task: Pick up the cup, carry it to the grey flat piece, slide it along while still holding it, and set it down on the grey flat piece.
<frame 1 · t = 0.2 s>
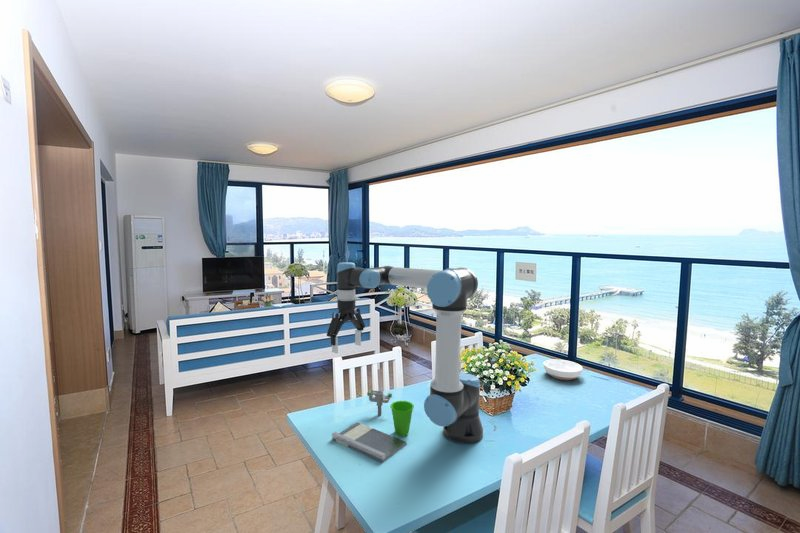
hand: (346, 348, 166), 28 cm above the table, fingers open, 13 cm apart
cup: (401, 433, 150), on the table
mechanical component: (379, 415, 165), on the table
bowl: (562, 376, 210), on the table
grey flat piece: (368, 442, 144), on the table
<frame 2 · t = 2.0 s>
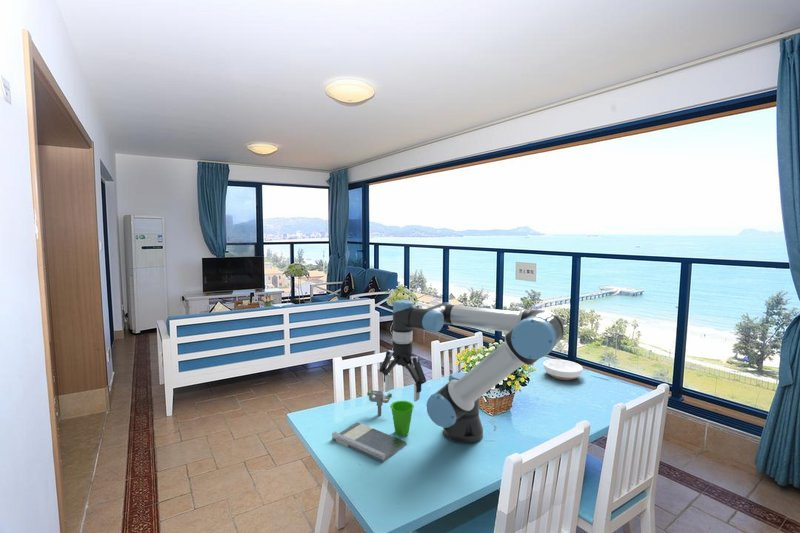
hand: (401, 395, 149), 15 cm above the table, fingers open, 13 cm apart
nothing on the table moved.
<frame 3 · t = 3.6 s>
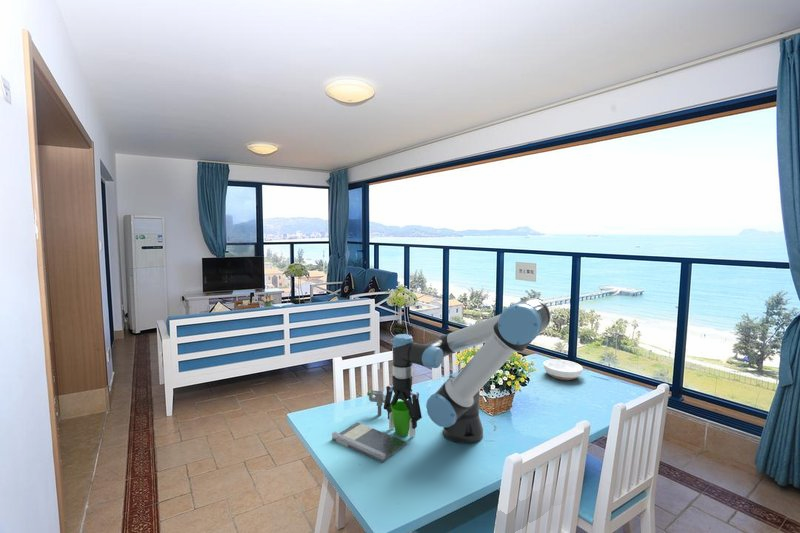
hand: (401, 431, 150), 0 cm above the table, fingers closed on cup, 9 cm apart
cup: (401, 433, 150), on the table, touching gripper
everything else where it was.
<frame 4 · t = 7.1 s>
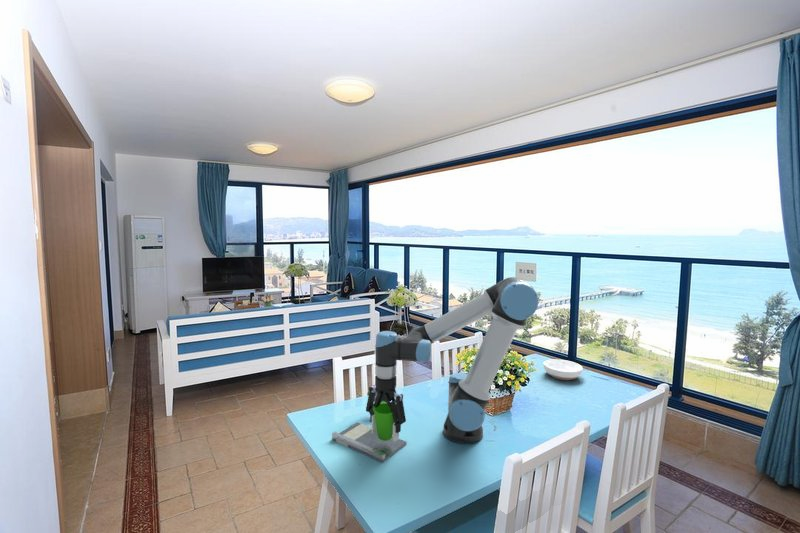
hand: (385, 435, 140), 4 cm above the table, fingers closed on cup, 9 cm apart
cup: (385, 437, 140), point 4 cm above the table, touching gripper
everything else where it was.
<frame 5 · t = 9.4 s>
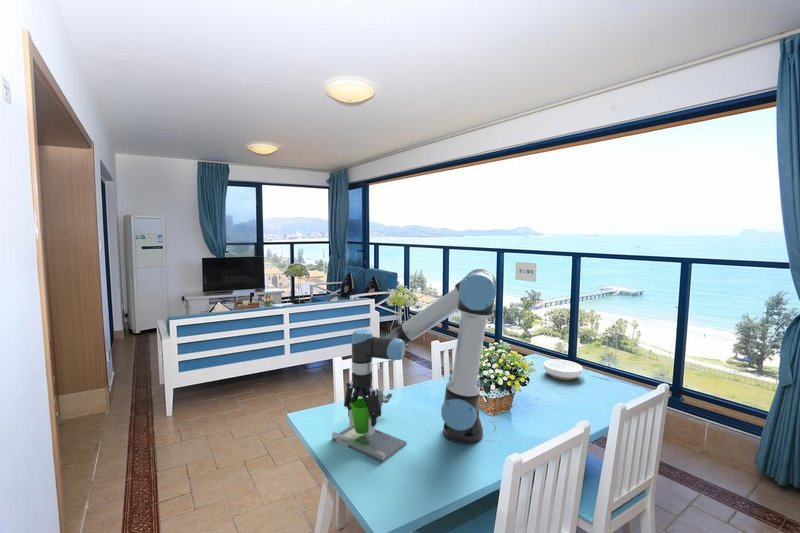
hand: (361, 429, 147), 3 cm above the table, fingers closed on cup, 9 cm apart
cup: (362, 431, 147), point 2 cm above the table, touching gripper
everything else where it was.
when the fingers open (2 cm above the table, at t = 10.9 s): cup stays where it is, resting on grey flat piece.
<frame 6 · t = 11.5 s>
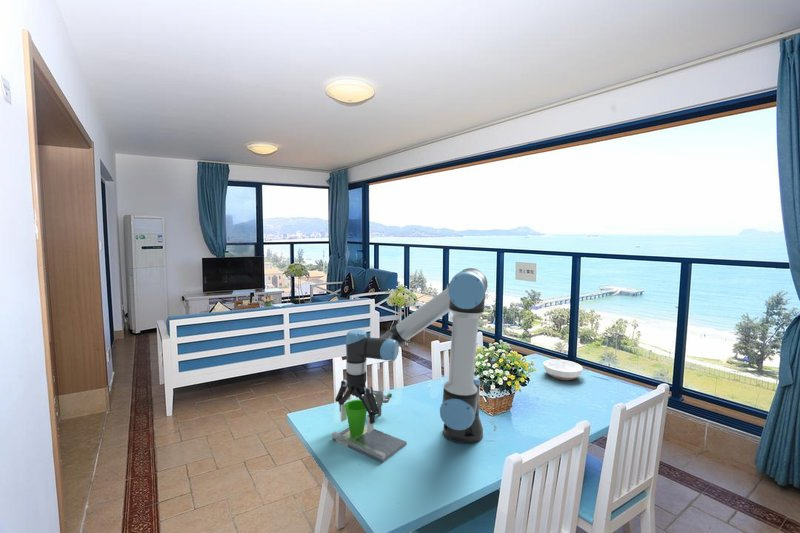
hand: (356, 425, 148), 4 cm above the table, fingers open, 13 cm apart
cup: (356, 433, 149), point 1 cm above the table, touching grey flat piece
everything else where it was.
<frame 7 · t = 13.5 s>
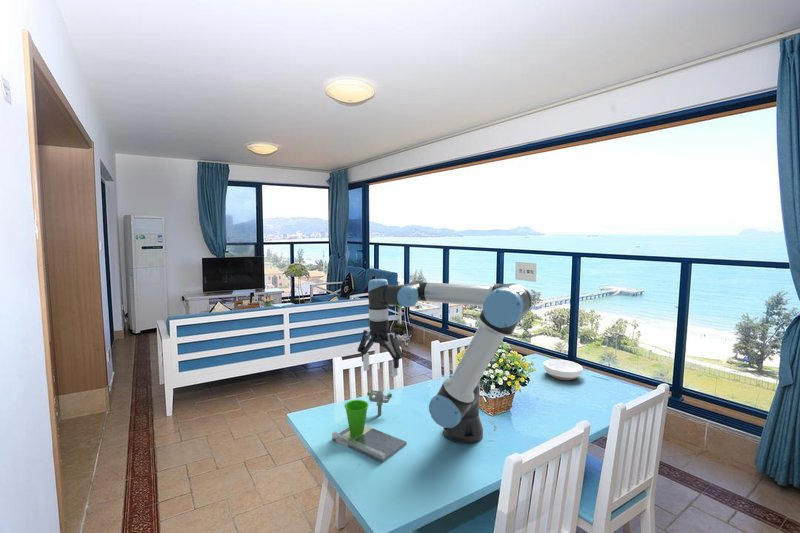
hand: (380, 373, 152), 23 cm above the table, fingers open, 13 cm apart
nothing on the table moved.
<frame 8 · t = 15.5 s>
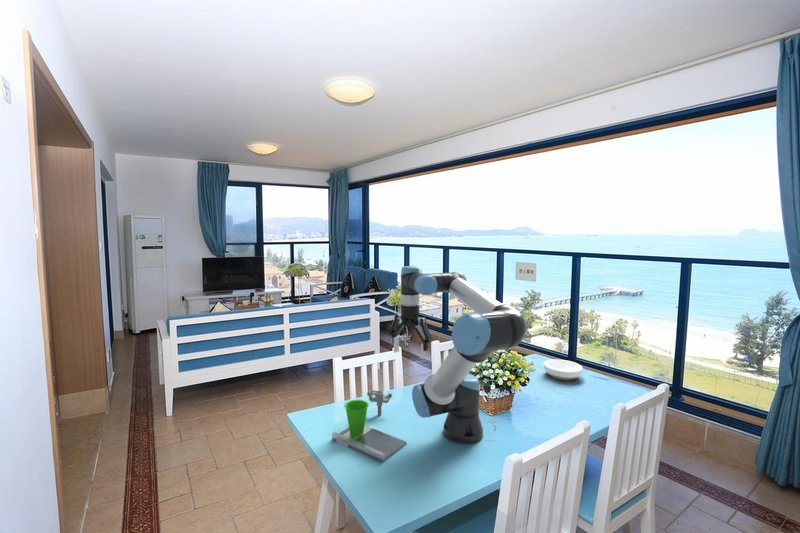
hand: (409, 355, 160), 27 cm above the table, fingers open, 13 cm apart
nothing on the table moved.
at the end: cup inside the target area (0.3 cm from its centre), point 0.8 cm above the table; cup tilted 0°; the gripper is holding nothing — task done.
